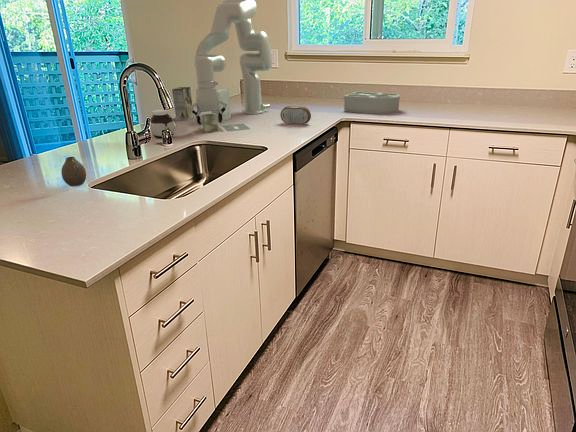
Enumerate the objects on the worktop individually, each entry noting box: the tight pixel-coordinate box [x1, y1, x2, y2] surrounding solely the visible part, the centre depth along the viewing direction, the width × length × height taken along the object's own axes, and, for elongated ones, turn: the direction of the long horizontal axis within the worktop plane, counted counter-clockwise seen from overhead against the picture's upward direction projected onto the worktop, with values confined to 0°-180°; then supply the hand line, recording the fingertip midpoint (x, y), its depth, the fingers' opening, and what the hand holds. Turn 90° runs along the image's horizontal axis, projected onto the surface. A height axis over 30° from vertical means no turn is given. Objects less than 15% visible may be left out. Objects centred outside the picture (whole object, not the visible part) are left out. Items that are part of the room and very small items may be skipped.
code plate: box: [221, 123, 251, 132], centre depth 208 cm, size 11×14×1 cm
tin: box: [280, 105, 312, 126], centre depth 212 cm, size 15×3×8 cm, turn 71°
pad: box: [197, 125, 225, 134], centre depth 204 cm, size 10×12×1 cm
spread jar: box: [149, 109, 177, 140], centre depth 196 cm, size 12×11×12 cm
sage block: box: [201, 112, 219, 132], centre depth 203 cm, size 6×6×7 cm
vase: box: [61, 156, 87, 187], centre depth 137 cm, size 7×7×9 cm
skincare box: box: [210, 88, 232, 122], centre depth 223 cm, size 8×7×16 cm
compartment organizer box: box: [343, 91, 401, 115], centre depth 238 cm, size 17×28×9 cm, turn 59°
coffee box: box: [172, 86, 195, 122], centre depth 230 cm, size 9×6×16 cm
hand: (210, 123), depth 203 cm, fingers open, 9 cm apart
